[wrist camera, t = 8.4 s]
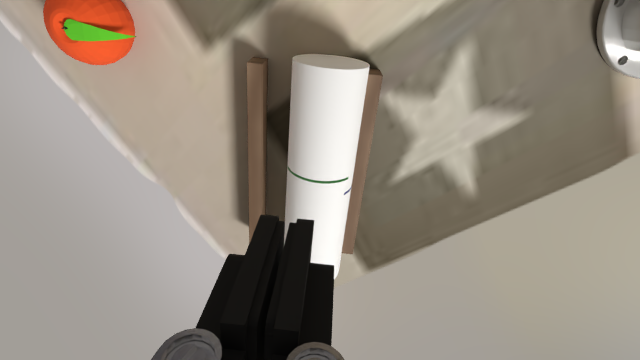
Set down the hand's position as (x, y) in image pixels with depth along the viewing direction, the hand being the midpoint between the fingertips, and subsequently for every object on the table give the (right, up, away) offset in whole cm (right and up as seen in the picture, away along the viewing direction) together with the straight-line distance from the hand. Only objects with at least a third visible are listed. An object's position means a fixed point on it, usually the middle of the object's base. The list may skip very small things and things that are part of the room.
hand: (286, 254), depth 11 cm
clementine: (-19, +18, +24) cm, 35 cm away
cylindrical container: (+2, +14, +21) cm, 25 cm away
